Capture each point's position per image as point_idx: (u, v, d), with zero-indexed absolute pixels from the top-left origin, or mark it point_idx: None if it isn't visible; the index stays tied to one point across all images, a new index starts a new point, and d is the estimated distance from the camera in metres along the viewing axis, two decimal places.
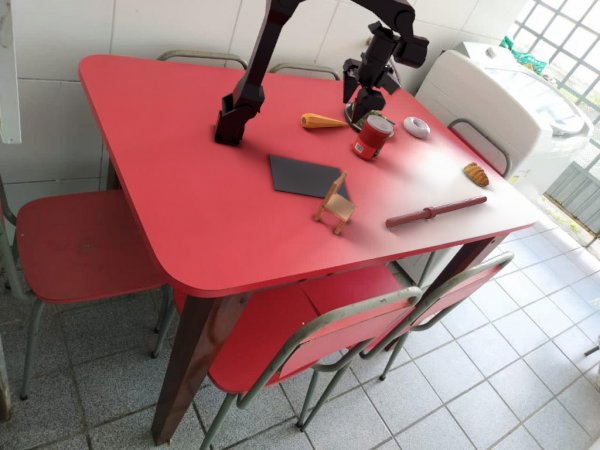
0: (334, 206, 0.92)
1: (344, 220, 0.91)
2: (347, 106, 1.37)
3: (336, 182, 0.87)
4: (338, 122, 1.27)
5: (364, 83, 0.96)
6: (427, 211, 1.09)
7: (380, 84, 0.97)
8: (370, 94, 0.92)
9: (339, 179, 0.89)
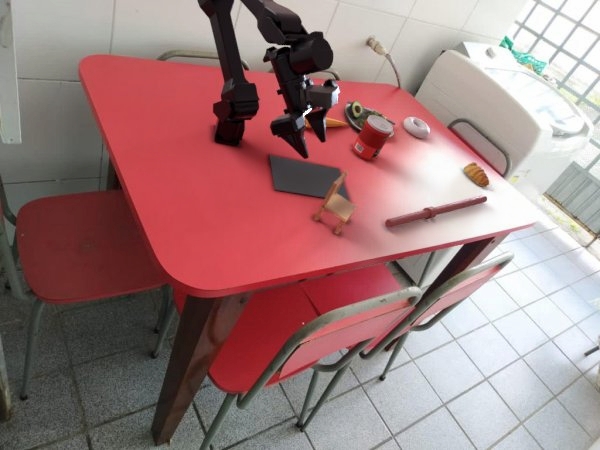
0: (334, 206, 0.92)
1: (344, 220, 0.91)
2: (347, 106, 1.37)
3: (336, 182, 0.87)
4: (338, 122, 1.27)
5: (291, 112, 0.84)
6: (427, 211, 1.09)
7: (304, 104, 0.81)
8: (275, 120, 0.80)
9: (339, 179, 0.89)
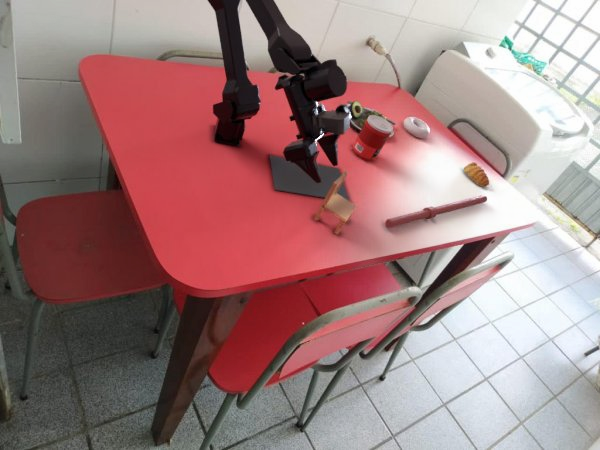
0: (334, 206, 0.92)
1: (344, 220, 0.91)
2: (347, 106, 1.37)
3: (336, 182, 0.87)
4: None
5: (303, 137, 0.85)
6: (427, 211, 1.09)
7: (316, 130, 0.83)
8: (288, 146, 0.81)
9: (339, 179, 0.89)
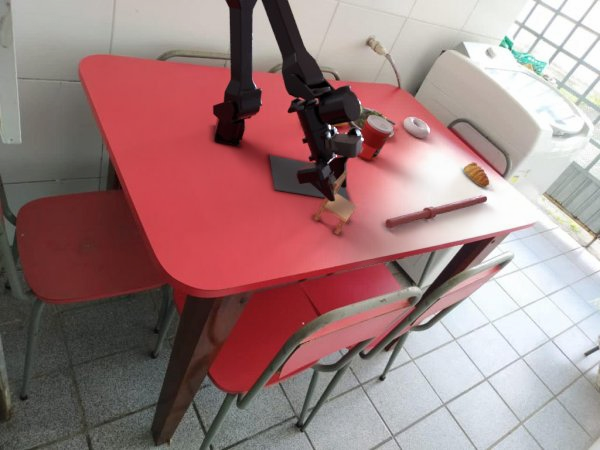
0: (334, 206, 0.92)
1: (344, 220, 0.91)
2: None
3: (336, 182, 0.87)
4: None
5: (315, 159, 0.87)
6: (427, 211, 1.09)
7: (329, 153, 0.84)
8: (301, 169, 0.83)
9: (339, 179, 0.89)
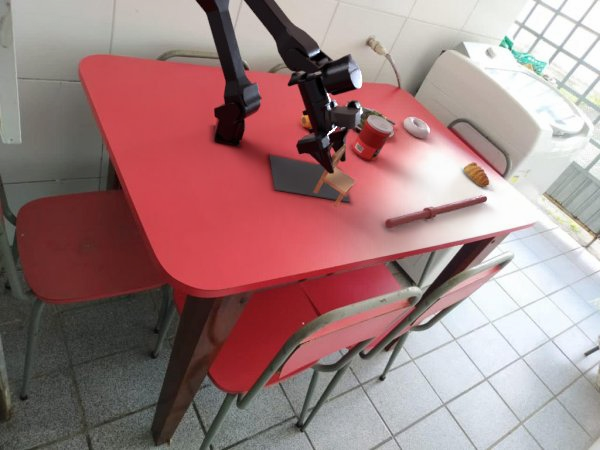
0: (333, 179, 0.94)
1: (343, 192, 0.93)
2: None
3: (335, 154, 0.89)
4: None
5: (315, 131, 0.89)
6: (427, 211, 1.09)
7: (328, 124, 0.86)
8: (301, 139, 0.84)
9: (338, 151, 0.91)
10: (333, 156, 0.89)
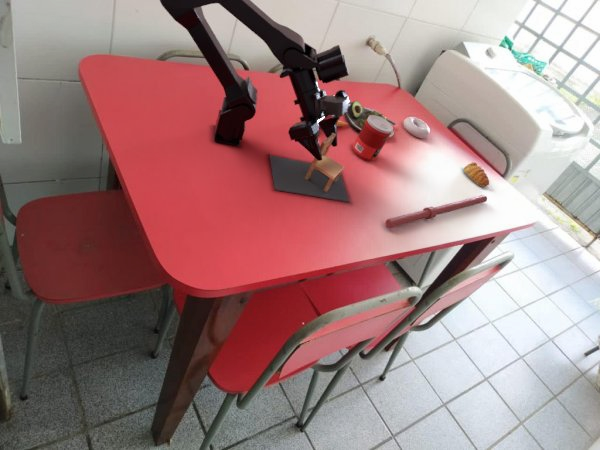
0: (323, 165, 1.01)
1: (332, 177, 1.00)
2: None
3: (324, 141, 0.96)
4: (338, 122, 1.27)
5: (306, 119, 0.96)
6: (427, 211, 1.09)
7: (318, 112, 0.93)
8: (293, 126, 0.91)
9: (327, 139, 0.98)
10: (322, 143, 0.96)
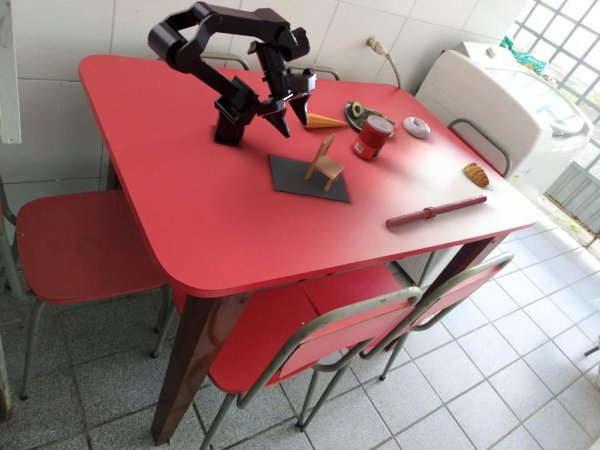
0: (323, 165, 1.01)
1: (332, 177, 1.00)
2: (347, 106, 1.37)
3: (324, 141, 0.96)
4: (338, 122, 1.27)
5: (274, 97, 0.96)
6: (427, 211, 1.09)
7: (285, 89, 0.94)
8: (259, 102, 0.92)
9: (327, 139, 0.98)
10: (322, 143, 0.96)
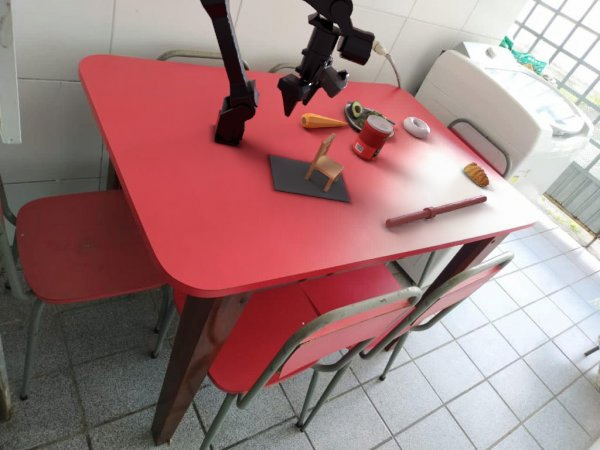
0: (323, 165, 1.01)
1: (332, 177, 1.00)
2: (347, 106, 1.37)
3: (324, 141, 0.96)
4: (338, 122, 1.27)
5: (300, 74, 0.91)
6: (427, 211, 1.09)
7: (315, 79, 0.90)
8: (287, 78, 0.86)
9: (327, 139, 0.98)
10: (322, 143, 0.96)
